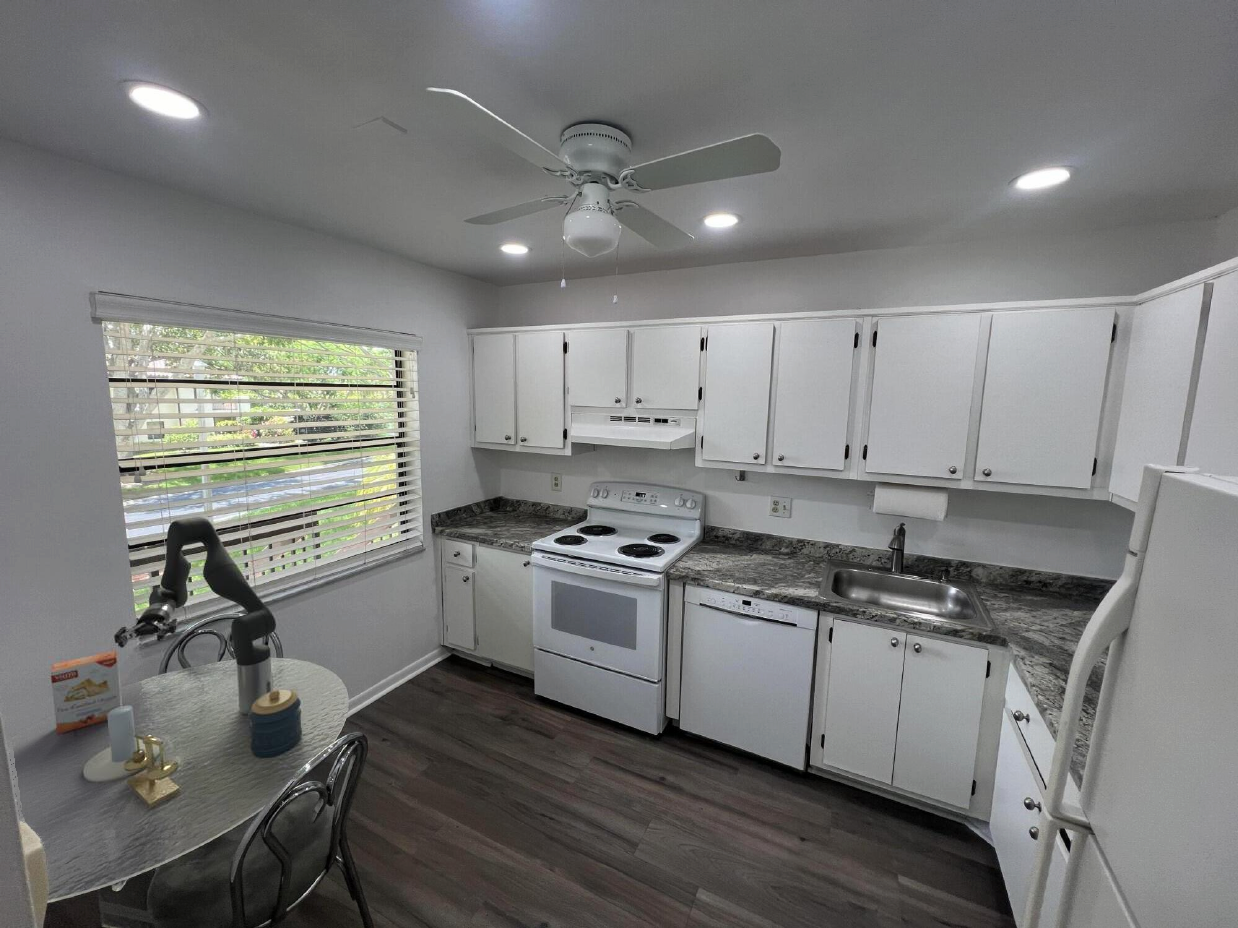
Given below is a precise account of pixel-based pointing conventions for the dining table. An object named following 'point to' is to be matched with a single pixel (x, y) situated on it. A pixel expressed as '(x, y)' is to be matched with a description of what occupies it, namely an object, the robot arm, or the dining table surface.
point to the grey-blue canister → (121, 733)
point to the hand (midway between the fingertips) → (140, 641)
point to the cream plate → (111, 765)
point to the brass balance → (151, 773)
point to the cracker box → (85, 690)
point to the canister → (275, 723)
